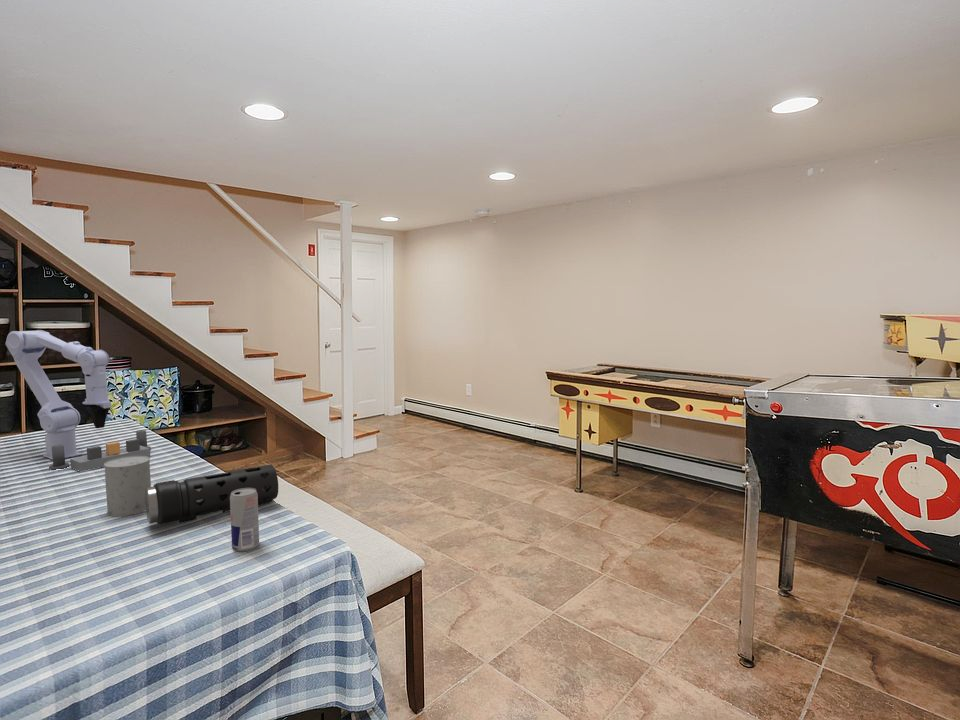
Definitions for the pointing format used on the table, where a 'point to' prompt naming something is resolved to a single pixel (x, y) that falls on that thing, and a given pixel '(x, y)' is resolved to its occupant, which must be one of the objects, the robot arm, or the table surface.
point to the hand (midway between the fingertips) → (99, 427)
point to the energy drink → (244, 519)
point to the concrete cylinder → (127, 485)
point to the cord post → (142, 438)
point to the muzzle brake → (206, 494)
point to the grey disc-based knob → (58, 458)
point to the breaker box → (98, 458)
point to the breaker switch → (113, 448)
